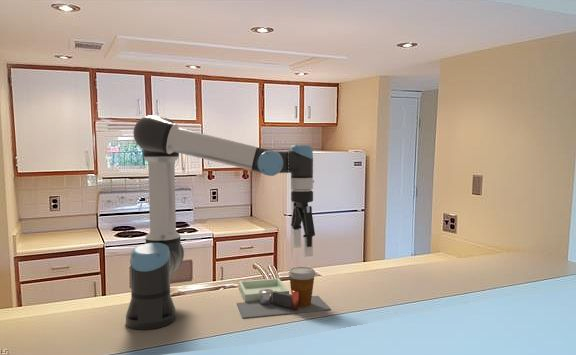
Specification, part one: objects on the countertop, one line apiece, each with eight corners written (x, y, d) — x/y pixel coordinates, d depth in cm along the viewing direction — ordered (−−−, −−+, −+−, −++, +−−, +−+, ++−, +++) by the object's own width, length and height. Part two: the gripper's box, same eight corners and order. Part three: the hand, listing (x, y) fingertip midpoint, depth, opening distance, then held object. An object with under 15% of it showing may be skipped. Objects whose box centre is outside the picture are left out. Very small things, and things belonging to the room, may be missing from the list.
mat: (242, 318, 134) (242, 317, 134) (236, 304, 147) (236, 302, 147) (331, 309, 142) (331, 308, 142) (318, 296, 155) (318, 295, 155)
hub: (260, 307, 144) (260, 294, 144) (257, 302, 149) (257, 289, 149) (313, 302, 149) (313, 289, 149) (309, 297, 154) (309, 285, 153)
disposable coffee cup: (291, 310, 140) (292, 274, 139) (285, 300, 149) (285, 267, 149) (319, 307, 142) (319, 272, 142) (310, 298, 152) (311, 265, 151)
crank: (271, 304, 144) (271, 287, 144) (275, 302, 146) (275, 285, 146) (296, 310, 139) (296, 292, 139) (300, 308, 141) (300, 290, 141)
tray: (245, 303, 148) (245, 294, 148) (238, 288, 164) (238, 281, 163) (289, 299, 152) (289, 290, 152) (278, 285, 168) (278, 278, 167)
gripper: (324, 193, 133) (325, 259, 134) (302, 187, 157) (302, 243, 158) (301, 193, 131) (302, 261, 132) (282, 187, 155) (283, 244, 156)
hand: (302, 251), depth 145 cm, fingers open, 13 cm apart
